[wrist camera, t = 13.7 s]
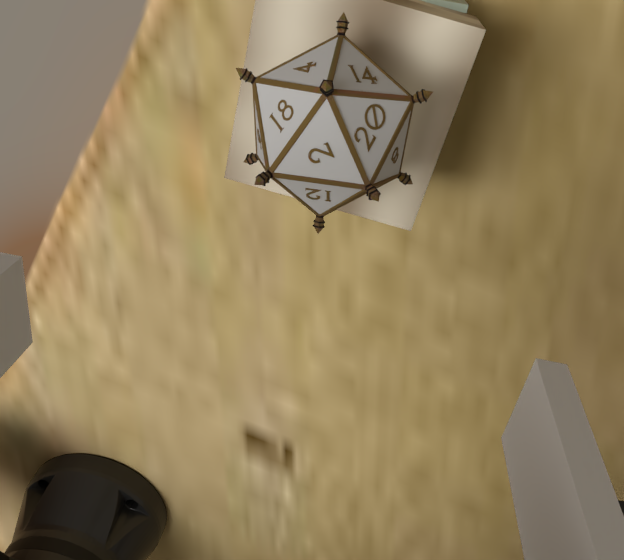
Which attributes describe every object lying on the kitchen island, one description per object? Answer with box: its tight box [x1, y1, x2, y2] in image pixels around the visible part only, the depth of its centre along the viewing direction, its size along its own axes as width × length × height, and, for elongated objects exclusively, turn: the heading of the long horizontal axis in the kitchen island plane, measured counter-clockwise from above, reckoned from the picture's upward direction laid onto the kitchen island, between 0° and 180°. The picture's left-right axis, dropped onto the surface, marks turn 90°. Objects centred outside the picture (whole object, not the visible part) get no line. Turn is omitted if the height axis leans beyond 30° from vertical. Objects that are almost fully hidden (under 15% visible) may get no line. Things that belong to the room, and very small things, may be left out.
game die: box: [236, 13, 433, 233], centre depth 28 cm, size 9×8×10 cm
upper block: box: [224, 0, 486, 231], centre depth 33 cm, size 11×11×5 cm
